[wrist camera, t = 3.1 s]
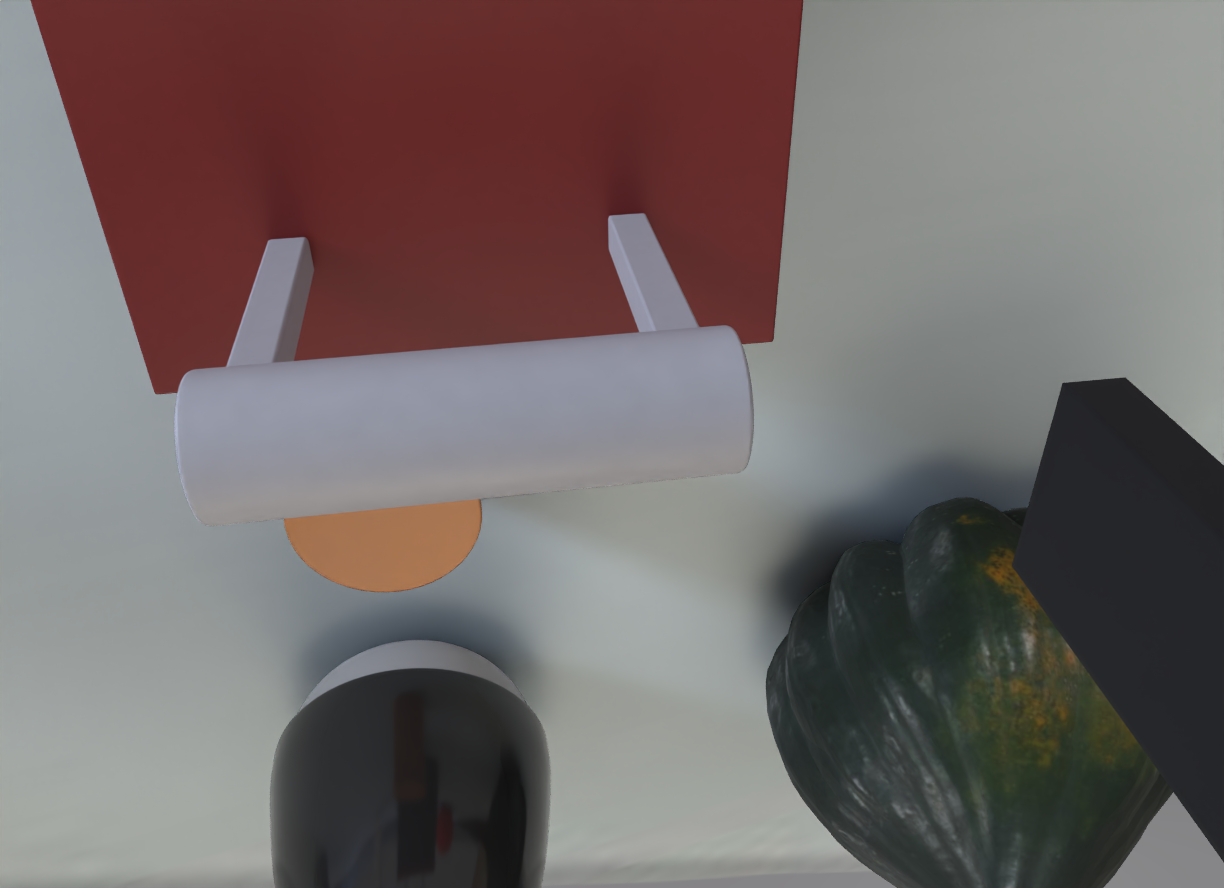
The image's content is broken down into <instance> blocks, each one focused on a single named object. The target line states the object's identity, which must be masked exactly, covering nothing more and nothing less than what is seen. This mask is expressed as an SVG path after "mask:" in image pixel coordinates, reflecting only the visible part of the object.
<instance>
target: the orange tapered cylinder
mask: <svg viewBox="0 0 1224 888" xmlns="http://www.w3.org/2000/svg"><path fill="white" fill-rule="evenodd" d="M481 522H482V507H481V499H475V500H465V501H455V502H445V503H435V504H426V505H416V506H406V507H396V508H386V509H376V510H366V511H356V512H346V513H336V514H326V515H317V516H307V517H297V518H287V519H284V523H285V529H286V532H287V535H288V538H289V540H290V542H291V544H292V546H293V548H294V550H295V551H296V552H297V554H298V555H299V556H300V558H301V559H302V560H303V561H304V562H305V563H306V564H307V565H308V566H309V567H311V568H312V569H313V570H315V571H316V572H317V573H319V574H320V575H322V576H324V577H325V578H327V579H329V580H331V581H333V582H335V583H338V584H340V585H343V586H346V587H349V588H354V589H358V590H363V591H371V592H396V591H403V590H409V589H413V588H417V587H421V586H424V585H426V584H429V583H432V582H434V581H436V580H438V579H440V578H442V577H443V576H445V575H446V574H448V573H449V572H451V571H452V570H453V569H455V568H456V567H457V566H458V565H459V564H460V563H461V562H462V561H463V560H464V559H465V558H466V557H467V555H468V554H469V553H470V551H471V550H472V548H473V546H474V544H475V542H476V540H477V538H478V535H479V532H480V529H481Z"/></svg>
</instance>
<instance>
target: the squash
mask: <svg viewBox="0 0 1224 888" xmlns="http://www.w3.org/2000/svg"><path fill="white" fill-rule="evenodd" d="M1027 509H1028V508H1017V509H1011V510H1008V511H1004V512H1001V511H999V510H998V509H996V508H994V507H993V506H991V505H989V504H987V503H985V502H983V501H980V500H978V499H974V498H955V499H952V500H949V501H946V502H942V503H939V504H936V505H933V506H931V507H928V508H927V509H925V510H924V511H923V512H921V513H920V514H919V515H917V516H916V517H915V519H914V520H913V521H912V522H911V524H910V525H909V526H908V527H907V529H906V532H905V535H904V538H903V541H902V543H901V544H897V543H894V542H890V541H879V540H874V541H867V542H862V543H860V544H858V545H856V546H853V547H851V548H849V549H848V550H846V551H845V552H844V554H843V555H842V557H841V558H840V560H839V561H838V563H837V565H836V568H835V570H834V572H833V574H832V580H831V581H830V582H828V583H826V584H825V585H823V586H821V587H820V588H818V589H817V590H816V591H814V592H813V593H812V594H811V595H810V596H809V597H808V598H807V599H806V600H805V601H804V602H803V603H802V604H801V605H800V606H799V608H798V609H797V611H796V613H795V615H794V616H793V618H792V621H791V625H790V629H789V633H788V634H787V635H786V637H785V638H784V639H783V641H782V642H781V644H780V645H779V647H778V648H777V649H776V652H775V654H774V656H773V659H772V661H771V663H770V666H769V668H768V671H767V678H766V697H767V712H768V716H769V720H770V724H771V728H772V731H773V735H774V739H775V741H776V744H777V747H778V749H779V752H780V755H781V757H782V760H783V763H784V765H785V768H786V770H787V773H788V775H789V777H790V779H791V781H792V783H793V785H794V787H795V788H796V790H797V791H798V793H799V794H800V796H801V797H802V799H803V801H804V802H805V803H806V804H807V806H808V807H809V808H810V809H811V811H812V812H813V813H814V814H815V816H816V817H817V818H818V819H819V821H820V822H821V823H822V824H823V825H824V826H825V827H826V828H827V829H828V831H829V832H830V833H831V835H832V836H833V837H834V838H835V839H836V840H837V841H838V843H840V844H841V845H842V846H843V847H844V848H845V849H846V850H847V851H848V852H850V853H851V854H852V855H853V856H854V857H855V858H856V859H858V860H859V861H860V862H861V863H863V864H864V865H865V866H867V867H868V868H869V869H871V870H872V871H873V872H875V873H876V874H878V875H879V876H881V877H882V878H884V879H885V880H887V881H888V882H890V883H891V884H892V885H894V886H895V887H897V888H1103V887H1104V886H1105V885H1106V884H1107V883H1108V882H1109V881H1110V879H1111V878H1112V877H1113V876H1114V875H1115V873H1116V872H1117V871H1118V869H1119V868H1120V866H1121V865H1122V864H1123V862H1124V861H1125V859H1126V858H1127V857H1128V855H1129V854H1130V852H1131V851H1132V849H1133V848H1134V847H1135V845H1136V844H1137V842H1138V841H1139V839H1140V838H1141V836H1142V834H1143V833H1144V830H1145V829H1146V827H1147V825H1148V824H1149V822H1150V821H1151V820H1152V819H1153V817H1154V816H1155V815H1156V814H1157V812H1158V811H1159V810H1160V809H1161V807H1162V806H1163V805H1164V803H1165V802H1166V801H1167V800H1168V798H1169V797H1170V796H1171V794H1172V793H1173V791H1172V789H1171V788H1170V786H1169V785H1168V784H1167V782H1166V781H1165V779H1164V778H1163V777H1162V775H1161V774H1160V772H1159V771H1158V770H1157V768H1156V767H1155V765H1154V764H1153V763H1152V761H1151V760H1150V758H1149V757H1148V756H1147V754H1146V753H1145V751H1144V750H1143V749H1142V747H1141V746H1140V744H1139V743H1138V742H1137V740H1136V739H1135V737H1134V736H1133V735H1132V733H1131V732H1130V730H1129V729H1128V728H1127V726H1126V725H1125V723H1124V722H1123V721H1122V719H1121V718H1120V716H1119V715H1118V714H1117V712H1116V711H1115V709H1114V708H1113V707H1112V705H1111V704H1110V702H1109V701H1108V700H1107V698H1106V697H1105V695H1104V694H1103V693H1102V691H1101V690H1100V689H1099V687H1098V686H1097V684H1096V683H1095V682H1094V680H1093V679H1092V677H1091V676H1090V675H1089V673H1088V672H1087V670H1086V669H1085V668H1084V666H1083V665H1082V663H1081V662H1080V661H1079V659H1078V658H1077V656H1076V655H1075V654H1074V652H1073V651H1072V649H1071V648H1070V647H1069V645H1068V644H1067V642H1066V641H1065V640H1064V638H1063V637H1062V635H1061V634H1060V633H1059V631H1058V630H1057V628H1056V627H1055V626H1054V624H1053V623H1052V621H1051V620H1050V619H1049V617H1048V616H1047V614H1046V613H1045V612H1044V610H1043V609H1042V607H1041V606H1040V605H1039V603H1038V602H1037V600H1036V599H1035V598H1034V596H1033V595H1032V593H1031V592H1030V591H1029V589H1028V588H1027V587H1026V585H1025V584H1024V582H1023V581H1022V580H1021V578H1020V577H1019V575H1018V574H1017V573H1016V571H1015V570H1014V568H1013V567H1012V563H1013V559H1014V556H1015V552H1016V549H1017V545H1018V541H1019V538H1020V534H1021V531H1022V527H1023V524H1024V520H1025V516H1026V513H1027Z"/></svg>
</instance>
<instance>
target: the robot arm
mask: <svg viewBox="0 0 1224 888" xmlns="http://www.w3.org/2000/svg"><path fill="white" fill-rule="evenodd" d="M1012 567H1013V568H1014V570H1015V571H1016V573H1017V574H1018V575H1019V577H1020V578H1021V580H1022V581H1023V582H1024V584H1025V585H1026V587H1027V588H1028V589H1029V591H1030V592H1031V593H1032V595H1033V596H1034V598H1035V599H1036V600H1037V602H1038V603H1039V605H1040V606H1041V607H1042V609H1043V610H1044V612H1045V613H1046V614H1047V616H1048V617H1049V619H1050V620H1051V621H1052V623H1053V624H1054V626H1055V627H1056V628H1057V630H1058V631H1059V633H1060V634H1061V635H1062V637H1063V638H1064V640H1065V641H1066V642H1067V644H1068V645H1069V647H1070V648H1071V649H1072V651H1073V652H1074V654H1075V655H1076V656H1077V658H1078V659H1079V661H1080V662H1081V663H1082V665H1083V666H1084V668H1085V669H1086V670H1087V672H1088V673H1089V675H1090V676H1091V677H1092V679H1093V680H1094V682H1095V683H1096V684H1097V686H1098V687H1099V689H1100V690H1101V691H1102V693H1103V694H1104V695H1105V697H1106V698H1107V700H1108V701H1109V702H1110V704H1111V705H1112V707H1113V708H1114V709H1115V711H1116V712H1117V714H1118V715H1119V716H1120V718H1121V719H1122V721H1123V722H1124V723H1125V725H1126V726H1127V728H1128V729H1129V730H1130V732H1131V733H1132V735H1133V736H1134V737H1135V739H1136V740H1137V742H1138V743H1139V744H1140V746H1141V747H1142V749H1143V750H1144V751H1145V753H1146V754H1147V756H1148V757H1149V758H1150V760H1151V761H1152V763H1153V764H1154V765H1155V767H1156V768H1157V770H1158V771H1159V772H1160V774H1161V775H1162V777H1163V778H1164V779H1165V781H1166V782H1167V784H1168V785H1169V786H1170V788H1171V789H1172V791H1173V792H1174V793H1175V795H1176V796H1177V797H1178V799H1179V800H1180V802H1181V803H1182V804H1183V806H1184V807H1185V809H1186V810H1187V811H1188V813H1189V814H1190V816H1191V817H1192V818H1193V820H1194V821H1195V823H1196V824H1197V825H1198V827H1199V828H1200V829H1201V831H1202V832H1203V834H1204V835H1205V837H1206V838H1207V839H1208V841H1209V842H1210V844H1211V845H1212V846H1213V848H1214V849H1215V851H1216V852H1217V853H1218V855H1219V856H1220V857H1221V859H1222V860H1223V862H1224V465H1222V464H1221V463H1220V462H1219V461H1218V460H1217V459H1216V458H1215V457H1214V456H1212V455H1211V454H1210V453H1209V452H1208V451H1207V450H1206V449H1205V448H1203V447H1202V446H1201V445H1200V444H1199V443H1198V442H1197V441H1196V440H1195V439H1193V438H1192V437H1191V436H1190V435H1189V434H1188V433H1187V432H1186V431H1184V430H1183V429H1182V428H1181V427H1180V426H1179V425H1178V424H1177V423H1176V422H1174V421H1173V420H1172V419H1171V418H1170V417H1169V416H1168V415H1167V414H1165V413H1164V412H1163V411H1162V410H1161V409H1160V408H1159V407H1158V406H1156V405H1155V404H1154V403H1153V402H1152V401H1151V400H1150V399H1149V398H1148V397H1146V396H1145V395H1144V394H1143V393H1142V392H1141V391H1140V390H1139V389H1137V388H1136V387H1135V386H1134V385H1133V384H1132V383H1131V382H1130V381H1129V380H1127V379H1126V378H1115V379H1103V380H1092V381H1081V382H1070V383H1063V384H1062V388H1061V391H1060V395H1059V398H1058V402H1057V405H1056V409H1055V413H1054V416H1053V420H1052V423H1051V427H1050V431H1049V434H1048V438H1047V441H1046V445H1045V448H1044V452H1043V456H1042V459H1041V463H1040V466H1039V470H1038V473H1037V477H1036V481H1035V484H1034V488H1033V491H1032V495H1031V498H1030V502H1029V506H1028V509H1027V513H1026V516H1025V520H1024V524H1023V527H1022V531H1021V534H1020V538H1019V541H1018V545H1017V549H1016V552H1015V556H1014V559H1013V563H1012Z"/></svg>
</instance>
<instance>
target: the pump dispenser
mask: <svg viewBox="0 0 1224 888" xmlns="http://www.w3.org/2000/svg"><path fill="white" fill-rule="evenodd" d="M550 795H551V770H550V757H549V749H548V743H547V738H546V735H545V732H544V729H543V727H542V725H541V723H540V721H539V719H538V718H537V716H536V715H535V713H534V712H533V711H532V710H531V708H530V707H529V706H528V705H527V704H526V702H525V700H524V698H523V696H522V695H521V693H520V692H519V690H518V689H517V687H516V686H515V685H514V683H513V682H512V681H511V680H510V679H509V678H508V677H507V676H506V675H505V674H504V672H502V671H501V670H500V669H499V668H498V667H497V666H495V665H494V664H493V663H491V662H490V661H488V660H487V659H486V658H484V657H482V656H480V655H478V654H477V653H475V652H472V651H470V650H468V649H465V648H463V647H460V646H457V645H453V644H449V643H445V642H439V641H431V640H407V641H398V642H392V643H388V644H384V645H380V646H377V647H374V648H371V649H368V650H366V651H363V652H361V653H359V654H357V655H355V656H353V657H351V658H350V659H348V660H346V661H345V662H343V663H342V664H340V665H339V666H337V667H336V668H335V669H334V670H332V671H331V672H330V673H329V674H328V675H326V676H325V677H324V678H323V679H322V680H321V681H320V682H319V683H318V685H317V686H316V687H315V688H314V689H313V690H312V692H311V693H310V694H309V696H308V697H307V699H306V700H305V702H304V703H303V705H302V706H301V708H300V710H299V712H298V713H297V715H296V716H295V717H294V718H293V719H292V720H291V721H290V723H289V724H288V725H287V727H286V728H285V730H284V732H283V733H282V735H281V737H280V739H279V742H278V744H277V748H276V751H275V755H274V760H273V767H272V775H271V786H270V830H271V852H272V866H273V876H274V885H275V888H541V887H542V881H543V875H544V868H545V861H546V853H547V844H548V832H549V817H550Z"/></svg>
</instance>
